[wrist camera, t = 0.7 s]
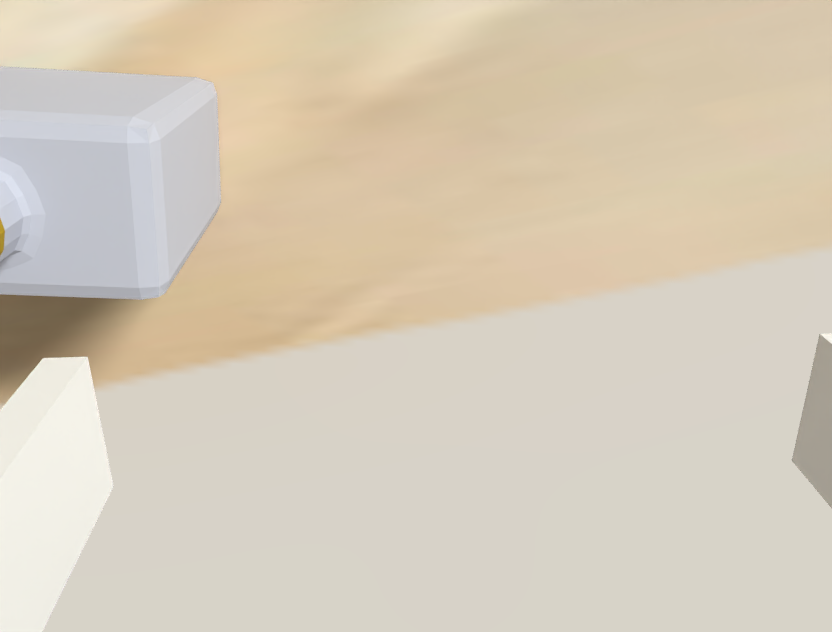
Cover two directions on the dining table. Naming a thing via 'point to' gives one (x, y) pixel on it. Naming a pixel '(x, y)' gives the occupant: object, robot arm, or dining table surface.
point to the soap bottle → (103, 180)
